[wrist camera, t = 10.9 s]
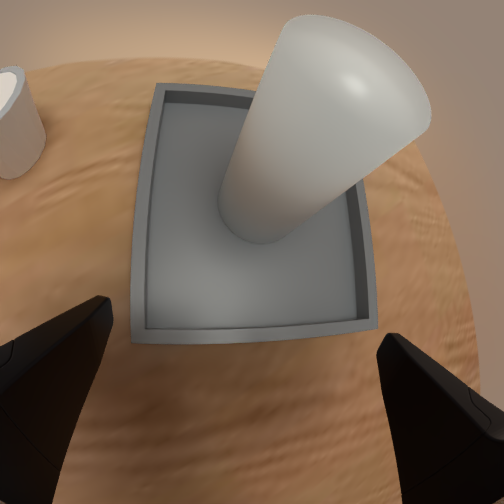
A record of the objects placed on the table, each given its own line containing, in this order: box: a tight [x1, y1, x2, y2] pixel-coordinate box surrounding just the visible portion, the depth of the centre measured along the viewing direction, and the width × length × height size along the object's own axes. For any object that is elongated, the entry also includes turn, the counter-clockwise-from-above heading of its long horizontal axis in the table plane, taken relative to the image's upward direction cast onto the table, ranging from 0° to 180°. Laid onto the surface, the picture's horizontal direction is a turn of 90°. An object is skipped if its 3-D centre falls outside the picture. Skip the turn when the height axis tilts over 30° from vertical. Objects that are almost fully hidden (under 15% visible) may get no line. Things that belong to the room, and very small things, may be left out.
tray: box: [130, 83, 378, 344], centre depth 19 cm, size 18×16×2 cm
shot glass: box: [0, 66, 46, 180], centre depth 13 cm, size 7×7×7 cm
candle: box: [218, 15, 431, 244], centre depth 13 cm, size 6×6×13 cm
